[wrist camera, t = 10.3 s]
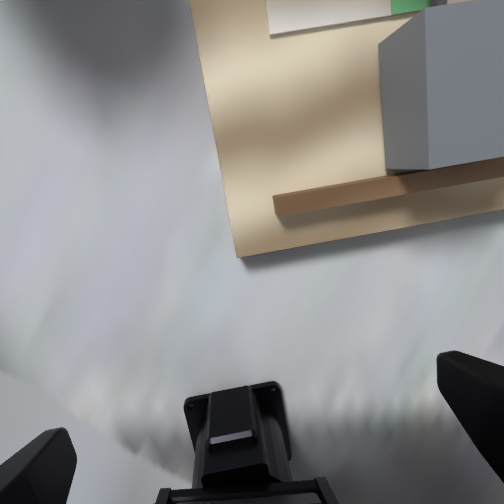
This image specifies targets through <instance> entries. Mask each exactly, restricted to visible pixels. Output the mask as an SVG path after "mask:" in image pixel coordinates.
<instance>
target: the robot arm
mask: <svg viewBox="0 0 504 504" xmlns="http://www.w3.org/2000/svg"><path fill="white" fill-rule="evenodd" d="M437 384H438V388H439V390H440V392H441V394H442V396H443V397H444V399H445V400H446V402H447V403H448V405H449V406H450V408H451V409H452V411H453V412H454V414H455V415H456V417H457V419H458V420H459V422H460V423H461V425H462V426H463V428H464V429H465V431H466V432H467V434H468V435H469V437H470V438H471V440H472V442H473V443H474V445H475V446H476V447H477V449H478V450H479V452H480V453H481V454H482V456H483V457H484V458H485V460H486V461H487V462H488V464H489V465H490V466H491V468H492V469H493V470H494V471H495V473H496V474H497V475H498V476H499V478H500V479H501V480H502V481H503V483H504V366H501V365H498V364H495V363H492V362H489V361H486V360H483V359H480V358H477V357H474V356H471V355H468V354H465V353H462V352H459V351H448V352H443V353H440V354H438V356H437ZM272 388H275V390H274V391H270V389H272ZM190 404H193V405H194V406H193V407H190V406H189V405H190ZM184 413H185V416H186V420H187V424H188V428H189V432H190V436H191V440H192V443H193V447H194V451H195V462H194V472H193V482H192V489H179V490H171V488H161V489H160V491H159V494H158V497H157V500H156V503H155V504H339V503H338V501H337V499H336V497H335V495H334V493H333V491H332V490H331V488H330V486H329V484H328V482H327V480H326V478H325V477H316V478H315V479H314V480H305V481H292V476H291V472H290V467H289V461H290V460H291V457H292V456H291V450H290V444H289V438H288V432H287V426H286V420H285V414H284V408H283V402H282V396H281V390H280V386H279V384H278V383H277V382H275V381H271V382H265V383H260V384H255V385H250V386H243V387H237V388H232V389H227V390H222V391H217V392H212V393H209V394H204V395H199V396H194V397H189V398H187V399H186V400H185V402H184ZM76 464H77V456H76V452H75V449H74V447H73V444H72V441H71V439H70V436H69V434H68V431H67V430H66V429H65V428H63V427H60V428H55V429H50V430H46V431H44V432H43V433H41V434H40V435H39V436H38V437H36V438H35V439H34V440H32V441H31V442H30V443H29V444H27V445H26V446H25V447H24V448H22V449H21V450H19V451H18V452H17V453H15V454H14V455H13V456H12V457H10V458H9V459H8V460H6V461H5V462H4V463H3V464H2V465H0V504H66V502H67V498H68V495H69V491H70V487H71V483H72V480H73V476H74V472H75V469H76Z"/></svg>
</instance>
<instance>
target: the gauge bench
mask: <svg viewBox="0 0 504 504" xmlns="http://www.w3.org/2000/svg"><path fill="white" fill-rule="evenodd" d="M189 1H190V7H191V12H192V18H193V23H194V29H195V34H196V39H197V45H198V50H199V56H200V61H201V66H202V72H203V77H204V83H205V88H206V94H207V99H208V104H209V110H210V115H211V121H212V126H213V131H214V137H215V142H216V148H217V153H218V159H219V164H220V169H221V175H222V180H223V186H224V191H225V197H226V202H227V207H228V213H229V218H230V224H231V229H232V234H233V240H234V245H235V251H236V256H237V258H239V257H245V256H250V255H256V254H261V253H267V252H272V251H278V250H283V249H289V248H294V247H300V246H305V245H311V244H316V243H322V242H327V241H333V240H338V239H344V238H350V237H355V236H361V235H366V234H372V233H377V232H383V231H388V230H394V229H399V228H405V227H410V226H416V225H421V224H427V223H432V222H438V221H443V220H449V219H454V218H460V217H465V216H471V215H476V214H482V213H487V212H493V211H498V210H504V157H498V158H493V159H487V160H481V161H475V162H470V163H464V164H458V165H453V166H447V167H441V168H436V169H430V170H423V169H386V167H385V151H384V134H383V117H382V101H381V84H380V68H379V51H378V44H379V43H380V42H382V41H383V40H384V39H386V38H387V37H388V36H389V35H391V34H392V33H393V32H394V31H396V30H397V29H398V28H400V27H401V26H402V25H403V24H405V23H406V22H407V21H409V20H410V19H411V18H412V17H414V16H415V15H416V14H417V13H419V12H420V11H421V10H423V9H424V8H427V7H431V0H189ZM465 1H471V0H447V4H452V3H459V2H465Z"/></svg>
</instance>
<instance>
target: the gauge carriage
mask: <svg viewBox="0 0 504 504" xmlns="http://www.w3.org/2000/svg"><path fill="white" fill-rule="evenodd" d="M378 51H379V68H380V84H381V101H382V117H383V134H384V151H385V167H386V169H423V170H430V169H436V168H441V167H447V166H453V165H458V164H464V163H470V162H475V161H481V160H487V159H493V158H498V157H504V0H471V1H465V2H459V3H452V4H447V0H431V7H427V8H424V9H423V10H421V11H420V12H419V13H417V14H416V15H415V16H414V17H412V18H411V19H410V20H409V21H407V22H406V23H405V24H403V25H402V26H401V27H400V28H398V29H397V30H396V31H394V32H393V33H392V34H391V35H389V36H388V37H387V38H386V39H384V40H383V41H382V42H380V43H379V44H378Z"/></svg>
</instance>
